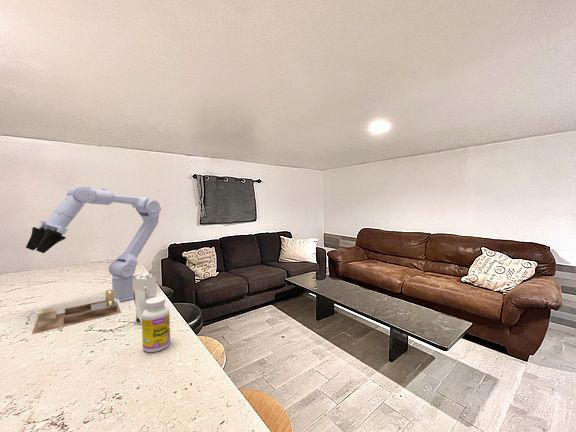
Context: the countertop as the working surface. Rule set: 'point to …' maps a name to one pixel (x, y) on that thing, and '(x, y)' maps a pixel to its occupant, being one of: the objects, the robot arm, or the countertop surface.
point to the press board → (78, 316)
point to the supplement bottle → (155, 325)
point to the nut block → (47, 317)
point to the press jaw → (108, 303)
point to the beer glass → (143, 293)
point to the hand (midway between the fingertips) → (34, 250)
